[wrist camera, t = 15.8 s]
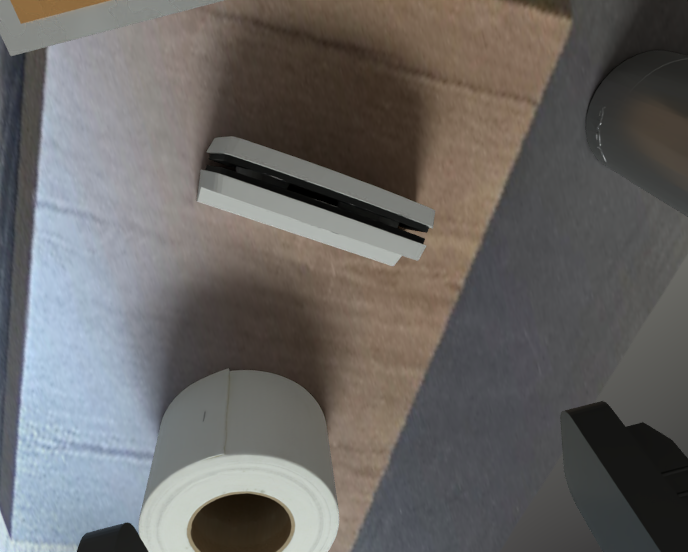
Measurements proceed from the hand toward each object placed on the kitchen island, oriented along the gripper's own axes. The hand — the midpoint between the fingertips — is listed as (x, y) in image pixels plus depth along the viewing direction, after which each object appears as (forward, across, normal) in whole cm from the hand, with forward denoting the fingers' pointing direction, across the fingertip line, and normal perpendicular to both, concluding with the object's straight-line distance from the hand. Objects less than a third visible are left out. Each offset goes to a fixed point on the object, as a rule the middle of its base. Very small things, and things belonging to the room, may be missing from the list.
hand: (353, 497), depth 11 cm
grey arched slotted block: (+36, 0, +7) cm, 37 cm away
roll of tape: (+36, +12, +29) cm, 48 cm away
